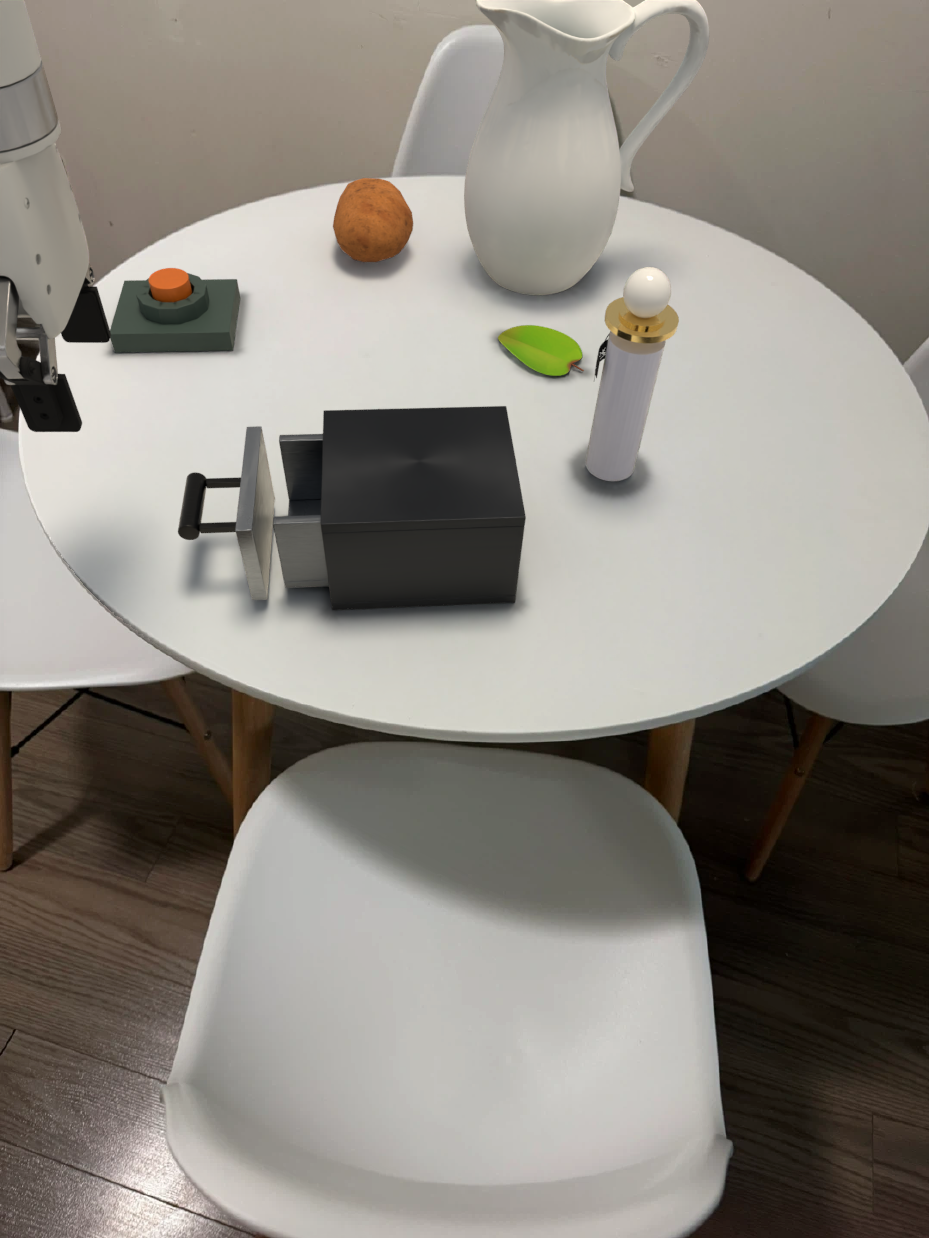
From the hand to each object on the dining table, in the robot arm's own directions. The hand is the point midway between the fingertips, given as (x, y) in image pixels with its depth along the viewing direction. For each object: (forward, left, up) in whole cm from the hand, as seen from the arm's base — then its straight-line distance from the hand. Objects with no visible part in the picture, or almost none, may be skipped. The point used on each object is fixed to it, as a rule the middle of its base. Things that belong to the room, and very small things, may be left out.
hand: (73, 382), depth 59 cm
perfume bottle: (+41, +9, -18) cm, 46 cm away
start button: (-1, +34, -14) cm, 37 cm away
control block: (-1, +34, -18) cm, 39 cm away
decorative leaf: (+37, +27, -18) cm, 50 cm away
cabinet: (+23, 0, -18) cm, 29 cm away
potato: (+20, +48, -18) cm, 55 cm away
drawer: (+14, 0, -17) cm, 22 cm away
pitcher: (+42, +44, -18) cm, 64 cm away
